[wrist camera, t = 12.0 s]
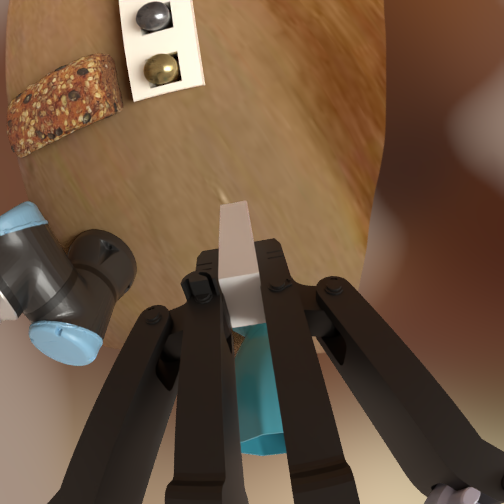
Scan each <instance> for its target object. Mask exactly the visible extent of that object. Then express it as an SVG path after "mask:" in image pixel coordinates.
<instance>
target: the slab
mask: <svg viewBox="0 0 504 504" xmlns="http://www.w3.org/2000/svg"><path fill="white" fill-rule="evenodd" d="M154 1H157V2H162V3H164V4H165V5H166V6H167V8H168V10H170V9H171V12H172V19H173V26H174V27H173V28H169V29H165V30H161V31H158V32H154V33H151V34H148V30H146V29H143V28H141V27H140V26H139V25H138V24H137V22H136V14H137V12H138V10H139V9H140V8H141V7H142V6H143V5H145V4H147V3H149V2H154ZM119 7H120V16H121V25H122V33H123V41H124V48H125V55H126V61H127V67H128V73H129V79H130V84H131V90H132V95H133V100H134V102H135V101H140V100H144V99H148V98H151V97H155V96H159V95H162V94H166V93H170V92H175V91H179V90H183V89H188V88H193V87H198V86H203V85H205V81H204V74H203V68H202V62H201V56H200V49H199V43H198V36H197V30H196V23H195V16H194V9H193V2H192V0H119ZM161 53H162V54H168V55H170V56H171V57H173V56H177V55H178V59H179V65H180V71H181V77H182V81H179V82H174V83H170V84H166V85H162V86H158V87H156V84H153V83H150V82H149V81H148V80H147V79H146V78H145V76H144V72H143V71H144V66H145V63H146V62H147V60H148V59H149V58H151V57H152V56H154V55H156V54H161Z"/></svg>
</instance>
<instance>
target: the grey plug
mask: <svg viewBox="0 0 504 504" xmlns="http://www.w3.org/2000/svg"><path fill="white" fill-rule="evenodd" d="M136 22H137V24H138V25H139V26H140V27H141V28H143V29H146V30H149V31H150V32H152V33H154V32H158V31H161V30H165V29H169V28H172V27H173V19H172V15H171V14H170V12H169V10H168V8H167V6H166V5H165V4H164V3H162V2H157V1H154V2H149V3H147V4H145V5H143V6H142V7H141V8H140V9H139V10H138V12H137V14H136Z"/></svg>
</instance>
